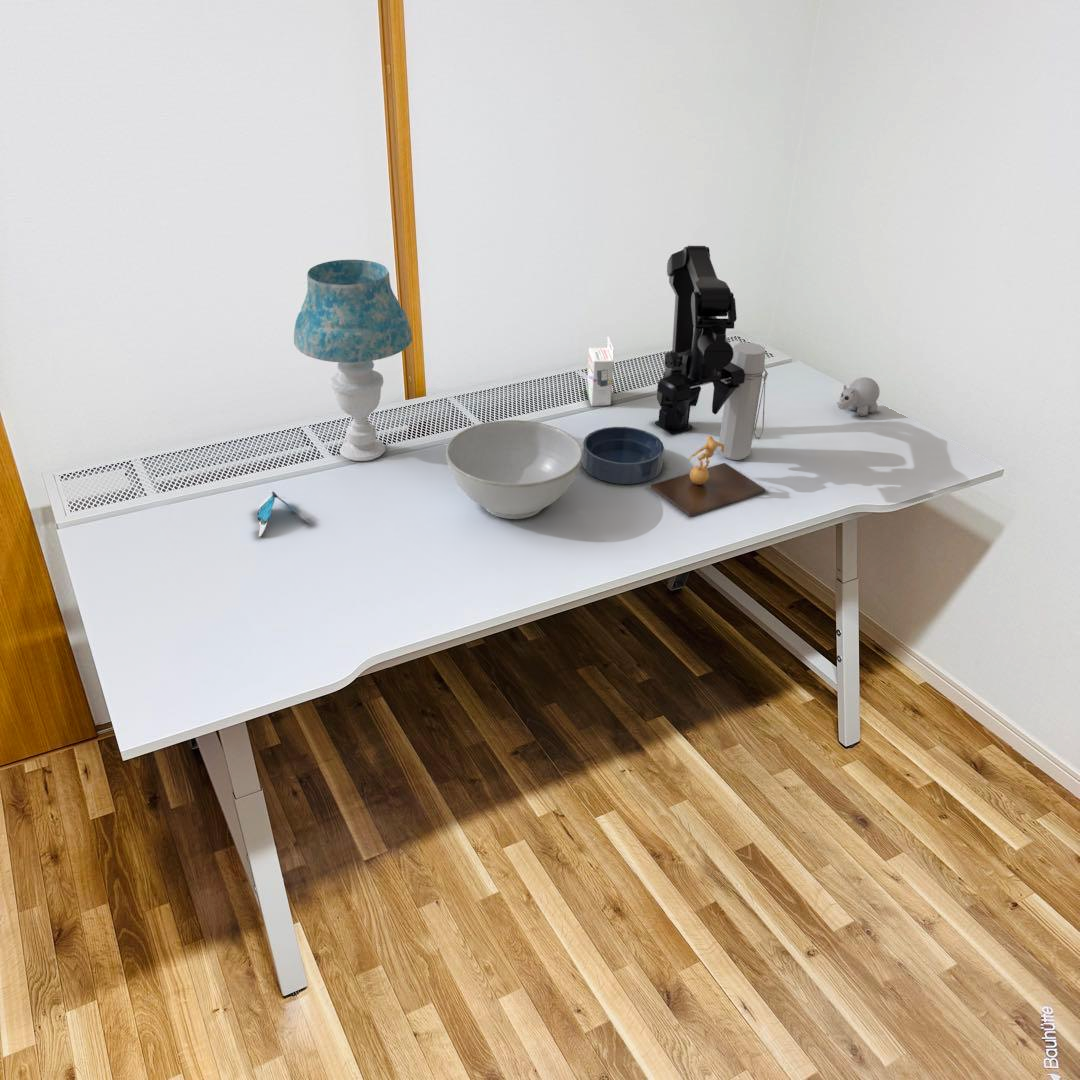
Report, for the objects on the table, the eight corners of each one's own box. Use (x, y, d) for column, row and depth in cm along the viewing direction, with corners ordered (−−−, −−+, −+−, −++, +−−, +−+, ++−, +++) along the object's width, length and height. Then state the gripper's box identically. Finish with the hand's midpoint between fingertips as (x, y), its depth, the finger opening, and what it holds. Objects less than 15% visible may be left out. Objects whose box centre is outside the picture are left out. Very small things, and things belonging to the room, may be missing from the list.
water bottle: (713, 458, 217) (727, 351, 204) (721, 443, 223) (736, 338, 210) (754, 466, 215) (772, 359, 201) (761, 451, 221) (779, 345, 207)
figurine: (709, 475, 209) (716, 424, 203) (725, 488, 205) (733, 436, 198) (676, 483, 206) (682, 431, 200) (692, 496, 202) (698, 444, 195)
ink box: (585, 391, 245) (588, 335, 237) (605, 391, 246) (609, 334, 238) (590, 406, 238) (594, 349, 230) (611, 406, 238) (615, 348, 230)
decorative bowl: (516, 458, 215) (517, 408, 208) (607, 505, 199) (611, 452, 193) (420, 500, 199) (417, 447, 192) (510, 555, 183) (511, 499, 177)
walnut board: (724, 465, 215) (724, 462, 214) (764, 492, 205) (765, 489, 205) (650, 488, 206) (650, 484, 205) (689, 517, 196) (689, 513, 196)
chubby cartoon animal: (823, 412, 239) (830, 379, 234) (859, 402, 244) (866, 370, 239) (845, 423, 233) (852, 390, 229) (881, 413, 239) (889, 381, 234)
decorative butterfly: (293, 482, 196) (306, 493, 188) (299, 512, 198) (312, 525, 190) (242, 493, 192) (253, 505, 184) (249, 524, 194) (259, 537, 186)
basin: (630, 440, 224) (632, 420, 221) (677, 473, 211) (680, 452, 209) (567, 457, 216) (568, 437, 213) (611, 492, 204) (613, 471, 201)
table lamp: (405, 421, 229) (395, 249, 207) (428, 470, 210) (420, 286, 188) (300, 434, 222) (279, 258, 200) (315, 485, 203) (293, 296, 181)
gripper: (716, 326, 206) (707, 393, 215) (644, 342, 198) (638, 412, 207) (752, 344, 199) (741, 414, 207) (678, 362, 190) (670, 434, 199)
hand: (697, 418), depth 205 cm, fingers open, 9 cm apart
